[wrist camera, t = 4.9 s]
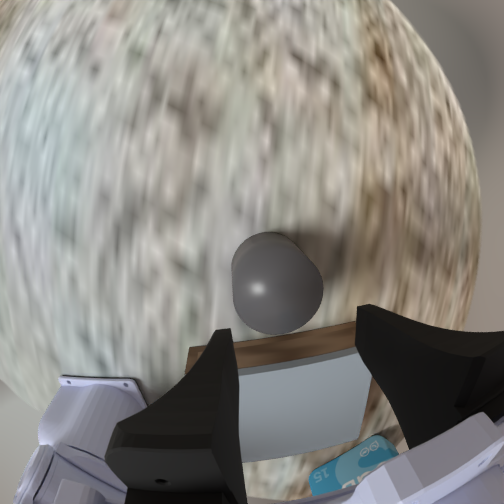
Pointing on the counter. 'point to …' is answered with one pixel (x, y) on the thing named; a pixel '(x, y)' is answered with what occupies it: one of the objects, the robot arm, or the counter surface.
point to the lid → (301, 404)
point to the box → (287, 346)
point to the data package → (351, 465)
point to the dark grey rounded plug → (274, 284)
